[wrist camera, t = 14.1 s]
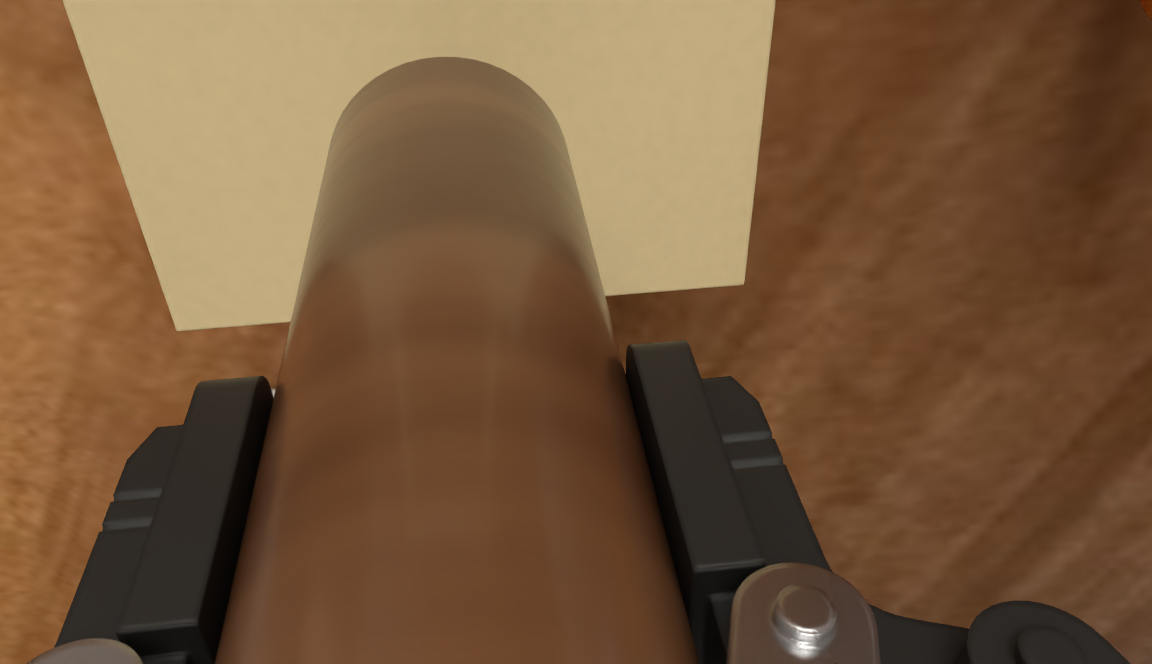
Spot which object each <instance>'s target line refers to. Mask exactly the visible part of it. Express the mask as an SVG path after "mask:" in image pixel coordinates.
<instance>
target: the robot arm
mask: <svg viewBox="0 0 1152 664" xmlns="http://www.w3.org/2000/svg"><path fill="white" fill-rule="evenodd" d="M626 379H627V383H628V387H629V391H630V395H631V399H632V402H633V406H634V410H635V414H636V418H637V422H638V426H639V430H640V434H641V437H642V441H643V445H644V449H645V453H646V457H647V461H648V465H649V469H650V473H651V476H652V480H653V484H654V488H655V492H656V496H657V500H658V504H659V508H660V511H661V515H662V519H663V523H664V527H665V531H666V535H667V539H668V543H669V546H670V550H671V554H672V558H673V562H674V566H675V570H676V574H677V578H678V581H679V585H680V589H681V593H682V597H683V601H684V605H685V609H686V613H687V617H688V620H689V624H690V628H691V632H692V636H693V640H694V644H695V648H696V652H697V655H698V659H699V663H700V664H1130V663H1129V662H1128V661H1127V660H1126V659H1125V658H1124V657H1123V656H1122V655H1121V654H1120V653H1119V652H1118V651H1117V650H1116V649H1115V648H1114V647H1113V646H1112V645H1111V644H1109V643H1108V642H1107V641H1106V640H1105V639H1104V638H1103V637H1102V636H1101V635H1100V634H1099V633H1098V632H1096V631H1095V630H1094V629H1093V628H1092V627H1090V626H1089V625H1087V624H1086V623H1084V622H1083V621H1082V620H1080V619H1078V618H1077V617H1075V616H1073V615H1071V614H1069V613H1067V612H1065V611H1063V610H1060V609H1058V608H1055V607H1053V606H1049V605H1045V604H1042V603H1037V602H1030V601H1008V602H1002V603H999V604H995V605H992V606H990V607H989V608H987V609H985V610H983V611H982V612H981V613H980V614H979V615H978V616H977V617H976V618H975V620H974V621H973V623H972V624H971V626H970V629H967V628H962V627H956V626H950V625H945V624H939V623H933V622H927V621H922V620H916V619H910V618H906V617H902V616H897V615H894V614H891V613H888V612H886V611H883V610H881V609H879V608H876V607H874V606H872V605H870V604H868V603H867V601H866V599H865V598H864V597H863V596H862V595H861V593H860V592H859V591H858V590H857V589H856V588H855V587H854V586H852V585H851V584H850V583H849V582H848V581H846V580H845V579H843V578H842V577H840V576H839V575H837V574H835V573H833V571H832V570H831V569H830V567H829V565H828V563H827V561H826V559H825V557H824V555H823V552H822V550H821V547H820V545H819V543H818V540H817V538H816V536H815V533H814V531H813V529H812V526H811V524H810V522H809V519H808V517H807V514H806V512H805V510H804V507H803V505H802V503H801V500H800V498H799V496H798V493H797V491H796V489H795V486H794V484H793V481H792V479H791V477H790V474H789V472H788V470H787V467H786V465H783V458H782V456H781V453H780V451H779V448H778V446H777V444H776V441H775V439H772V432H771V430H770V427H769V425H768V423H767V420H766V418H765V415H764V413H763V411H762V408H761V406H760V404H759V402H758V401H757V400H756V399H755V398H754V397H753V396H752V395H751V394H750V393H749V392H748V391H746V390H745V389H744V388H743V387H742V386H741V385H740V384H739V383H738V382H737V381H736V380H735V379H733V378H732V377H731V376H728V377H717V378H706V379H701V377H700V374H699V371H698V368H697V366H696V363H695V360H694V357H693V355H692V352H691V349H690V346H689V344H688V343H687V341H686V340H680V341H668V342H657V343H645V344H634V345H628V348H627V354H626ZM273 399H274V397H273V394H272V390H271V387H270V385H269V382H268V381H267V379H266V378H265V377H264V376H256V377H245V378H233V379H222V380H210V381H202V382H200V383H199V384H198V385H197V386H196V389H195V391H194V394H193V397H192V400H191V403H190V406H189V409H188V412H187V415H186V418H185V421H184V424H183V425H178V426H167V427H157V428H156V429H155V430H154V431H153V432H152V433H151V435H150V436H149V437H148V438H147V439H146V440H145V441H144V442H143V443H142V444H141V445H140V446H139V448H138V449H137V450H136V451H135V452H134V453H133V454H132V455H131V456H130V457H129V458H128V459H127V462H126V464H125V467H124V469H123V472H122V474H121V477H120V480H119V482H118V485H117V487H116V490H115V493H114V502H111V503H110V506H109V508H108V511H107V513H106V516H105V519H104V521H103V524H102V525H103V531H102V532H99V534H98V537H97V539H96V542H95V544H94V547H93V550H92V552H91V555H90V557H89V560H88V563H87V565H86V568H85V570H84V573H83V576H82V578H81V581H80V583H79V586H78V589H77V591H76V594H75V596H74V599H73V602H72V604H71V607H70V609H69V612H68V614H67V617H66V620H65V622H64V625H63V627H62V630H61V633H60V635H59V638H58V640H57V643H56V645H55V647H54V648H53V649H50V650H49V651H47V652H45V653H43V654H41V655H39V656H37V657H36V658H34V659H33V660H31V661H30V662H28V663H27V664H215V660H216V656H217V651H218V647H219V642H220V638H221V633H222V629H223V624H224V620H225V615H226V611H227V606H228V602H229V597H230V593H231V588H232V584H233V579H234V575H235V570H236V566H237V561H238V557H239V552H240V548H241V543H242V539H243V534H244V530H245V525H246V521H247V516H248V512H249V507H250V503H251V498H252V494H253V489H254V485H255V480H256V476H257V471H258V467H259V462H260V458H261V453H262V449H263V444H264V440H265V435H266V430H267V426H268V421H269V417H270V412H271V408H272V403H273Z"/></svg>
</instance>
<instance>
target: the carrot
mask: <svg viewBox="0 0 1152 664" xmlns="http://www.w3.org/2000/svg"><path fill="white" fill-rule="evenodd" d="M1140 3H1141V5H1142V7H1143V9H1144V11H1145V12H1146V13H1147V14H1148V15H1149V17H1150V18H1151V19H1152V0H1140Z"/></svg>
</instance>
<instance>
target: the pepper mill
mask: <svg viewBox="0 0 1152 664" xmlns="http://www.w3.org/2000/svg"><path fill="white" fill-rule="evenodd" d="M215 664H700V663H699V659H698V655H697V652H696V648H695V644H694V640H693V636H692V632H691V628H690V624H689V620H688V617H687V613H686V609H685V605H684V601H683V597H682V593H681V589H680V585H679V581H678V578H677V574H676V570H675V566H674V562H673V558H672V554H671V550H670V546H669V543H668V539H667V535H666V531H665V527H664V523H663V519H662V515H661V511H660V508H659V504H658V500H657V496H656V492H655V488H654V484H653V480H652V476H651V473H650V469H649V465H648V461H647V457H646V453H645V449H644V445H643V441H642V437H641V434H640V430H639V426H638V422H637V418H636V414H635V410H634V406H633V402H632V399H631V395H630V391H629V387H628V383H627V379H626V375H625V371H624V367H623V364H622V360H621V356H620V352H619V348H618V344H617V340H616V336H615V332H614V329H613V325H612V321H611V317H610V313H609V309H608V305H607V301H606V297H605V293H604V290H603V286H602V282H601V278H600V274H599V270H598V266H597V262H596V258H595V255H594V251H593V247H592V243H591V239H590V235H589V231H588V227H587V223H586V220H585V216H584V212H583V208H582V204H581V200H580V196H579V192H578V188H577V185H576V181H575V177H574V173H573V169H572V165H571V161H570V157H569V153H568V149H567V146H566V142H565V138H564V135H563V133H562V130H561V128H560V125H559V123H558V121H557V119H556V118H555V116H554V114H553V112H552V111H551V109H550V108H549V107H548V105H547V104H546V103H545V102H544V100H543V99H542V98H541V97H540V96H539V95H538V94H537V93H536V92H535V91H534V90H533V89H532V88H531V87H530V86H528V85H527V84H526V83H524V82H523V81H522V80H520V79H519V78H518V77H516V76H514V75H512V74H511V73H509V72H507V71H505V70H503V69H501V68H498V67H496V66H494V65H491V64H489V63H485V62H481V61H478V60H474V59H468V58H460V57H432V58H424V59H419V60H415V61H411V62H407V63H404V64H401V65H399V66H397V67H394V68H392V69H389V70H388V71H386V72H384V73H382V74H381V75H379V76H377V77H375V78H374V79H373V80H372V81H370V82H369V83H368V84H366V85H365V86H364V87H363V88H362V89H361V90H360V91H359V92H358V93H357V94H356V95H355V96H354V97H353V98H352V99H351V101H350V102H349V103H348V105H347V106H346V108H345V109H344V110H343V112H342V114H341V116H340V118H339V120H338V122H337V124H336V126H335V129H334V132H333V135H332V138H331V142H330V147H329V151H328V156H327V160H326V165H325V169H324V174H323V178H322V183H321V187H320V192H319V196H318V201H317V205H316V210H315V214H314V219H313V223H312V228H311V232H310V237H309V241H308V246H307V250H306V255H305V259H304V264H303V268H302V273H301V277H300V282H299V286H298V291H297V295H296V300H295V304H294V309H293V313H292V318H291V322H290V327H289V331H288V336H287V340H286V345H285V349H284V354H283V358H282V363H281V367H280V372H279V376H278V381H277V385H276V390H275V394H274V399H273V403H272V408H271V412H270V417H269V421H268V426H267V430H266V435H265V440H264V444H263V449H262V453H261V458H260V462H259V467H258V471H257V476H256V480H255V485H254V489H253V494H252V498H251V503H250V507H249V512H248V516H247V521H246V525H245V530H244V534H243V539H242V543H241V548H240V552H239V557H238V561H237V566H236V570H235V575H234V579H233V584H232V588H231V593H230V597H229V602H228V606H227V611H226V615H225V620H224V624H223V629H222V633H221V638H220V642H219V647H218V651H217V656H216V660H215Z"/></svg>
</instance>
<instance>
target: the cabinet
mask: <svg viewBox="0 0 1152 664" xmlns="http://www.w3.org/2000/svg"><path fill="white" fill-rule="evenodd" d="M775 2H776V0H63V3H64V6H65V9H66V11H67V14H68V17H69V20H70V23H71V26H72V29H73V32H74V35H75V38H76V40H77V43H78V46H79V49H80V52H81V55H82V58H83V61H84V64H85V67H86V69H87V72H88V75H89V78H90V81H91V84H92V87H93V90H94V93H95V96H96V98H97V101H98V104H99V107H100V110H101V113H102V116H103V119H104V122H105V125H106V127H107V130H108V133H109V136H110V139H111V142H112V145H113V148H114V151H115V153H116V156H117V159H118V162H119V165H120V168H121V171H122V174H123V177H124V180H125V182H126V185H127V188H128V191H129V194H130V197H131V200H132V203H133V206H134V209H135V211H136V214H137V217H138V220H139V223H140V226H141V229H142V232H143V235H144V238H145V240H146V243H147V246H148V249H149V252H150V255H151V258H152V261H153V264H154V267H155V269H156V272H157V275H158V278H159V281H160V284H161V287H162V290H163V293H164V296H165V298H166V301H167V304H168V307H169V310H170V313H171V316H172V319H173V322H174V324H175V327H176V330H177V331H189V330H201V329H213V328H225V327H237V326H249V325H262V324H274V323H286V322H291V318H292V313H293V309H294V304H295V300H296V295H297V291H298V286H299V282H300V277H301V273H302V268H303V264H304V259H305V255H306V250H307V246H308V241H309V237H310V232H311V228H312V223H313V219H314V214H315V210H316V205H317V201H318V196H319V192H320V187H321V183H322V178H323V174H324V169H325V165H326V160H327V156H328V151H329V147H330V142H331V138H332V135H333V132H334V129H335V126H336V124H337V122H338V120H339V118H340V116H341V114H342V112H343V110H344V109H345V108H346V106H347V105H348V103H349V102H350V101H351V99H352V98H353V97H354V96H355V95H356V94H357V93H358V92H359V91H360V90H361V89H362V88H363V87H364V86H365V85H366V84H368V83H369V82H370V81H372V80H373V79H374V78H375V77H377V76H379V75H381V74H382V73H384V72H386V71H388V70H389V69H392V68H394V67H397V66H399V65H401V64H404V63H407V62H411V61H415V60H419V59H424V58H432V57H460V58H468V59H474V60H478V61H481V62H485V63H489V64H491V65H494V66H496V67H498V68H501V69H503V70H505V71H507V72H509V73H511V74H512V75H514V76H516V77H518V78H519V79H520V80H522V81H523V82H524V83H526V84H527V85H528V86H530V87H531V88H532V89H533V90H534V91H535V92H536V93H537V94H538V95H539V96H540V97H541V98H542V99H543V100H544V102H545V103H546V104H547V105H548V107H549V108H550V109H551V111H552V112H553V114H554V116H555V118H556V119H557V121H558V123H559V125H560V128H561V130H562V133H563V135H564V138H565V142H566V146H567V149H568V153H569V157H570V161H571V165H572V169H573V173H574V177H575V181H576V185H577V188H578V192H579V196H580V200H581V204H582V208H583V212H584V216H585V220H586V223H587V227H588V231H589V235H590V239H591V243H592V247H593V251H594V255H595V258H596V262H597V266H598V270H599V274H600V278H601V282H602V286H603V290H604V293H605V296H615V295H627V294H639V293H651V292H663V291H675V290H688V289H700V288H712V287H724V286H736V285H743V284H744V281H745V272H746V263H747V254H748V245H749V236H750V227H751V218H752V209H753V200H754V191H755V182H756V173H757V164H758V155H759V146H760V137H761V128H762V119H763V110H764V101H765V92H766V83H767V74H768V65H769V56H770V47H771V38H772V29H773V20H774V11H775Z"/></svg>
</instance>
